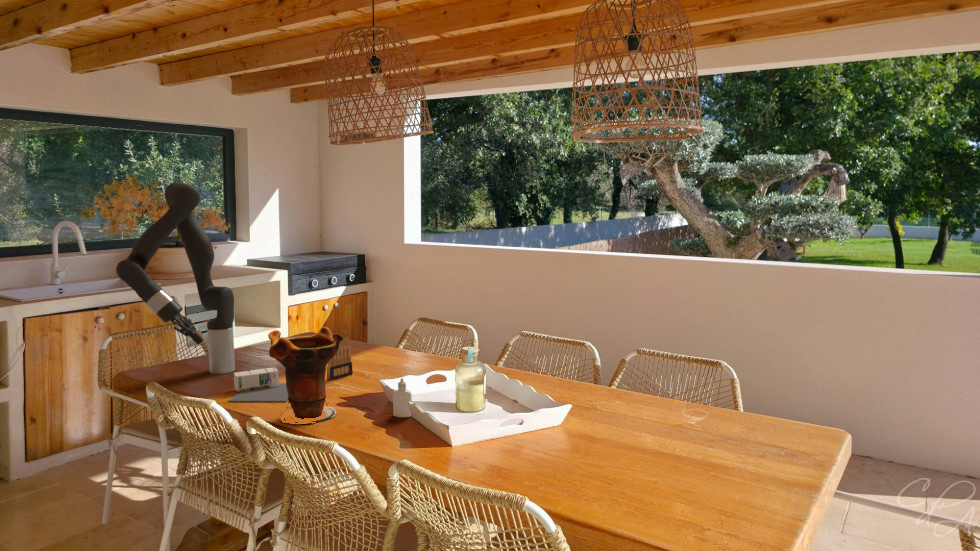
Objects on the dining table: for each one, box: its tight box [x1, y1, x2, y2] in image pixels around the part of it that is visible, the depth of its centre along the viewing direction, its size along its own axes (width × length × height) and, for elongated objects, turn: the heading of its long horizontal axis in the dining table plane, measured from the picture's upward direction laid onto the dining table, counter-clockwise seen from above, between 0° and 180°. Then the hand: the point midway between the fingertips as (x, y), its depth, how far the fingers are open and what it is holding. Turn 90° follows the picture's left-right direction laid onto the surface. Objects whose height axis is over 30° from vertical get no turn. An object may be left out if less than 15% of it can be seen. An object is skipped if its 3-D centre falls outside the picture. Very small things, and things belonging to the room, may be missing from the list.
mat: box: [228, 382, 289, 403], centre depth 235 cm, size 20×19×1 cm
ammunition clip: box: [326, 343, 354, 381], centre depth 254 cm, size 11×2×12 cm, turn 141°
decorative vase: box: [267, 326, 345, 423], centre depth 211 cm, size 21×23×28 cm
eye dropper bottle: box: [392, 377, 413, 418], centre depth 211 cm, size 4×6×12 cm
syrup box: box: [233, 366, 280, 393], centre depth 240 cm, size 6×6×14 cm
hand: (201, 342), depth 235 cm, fingers closed
